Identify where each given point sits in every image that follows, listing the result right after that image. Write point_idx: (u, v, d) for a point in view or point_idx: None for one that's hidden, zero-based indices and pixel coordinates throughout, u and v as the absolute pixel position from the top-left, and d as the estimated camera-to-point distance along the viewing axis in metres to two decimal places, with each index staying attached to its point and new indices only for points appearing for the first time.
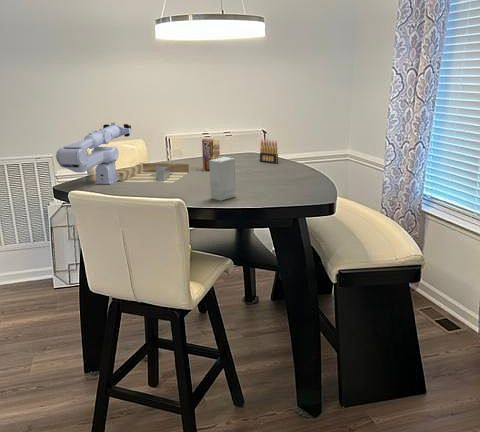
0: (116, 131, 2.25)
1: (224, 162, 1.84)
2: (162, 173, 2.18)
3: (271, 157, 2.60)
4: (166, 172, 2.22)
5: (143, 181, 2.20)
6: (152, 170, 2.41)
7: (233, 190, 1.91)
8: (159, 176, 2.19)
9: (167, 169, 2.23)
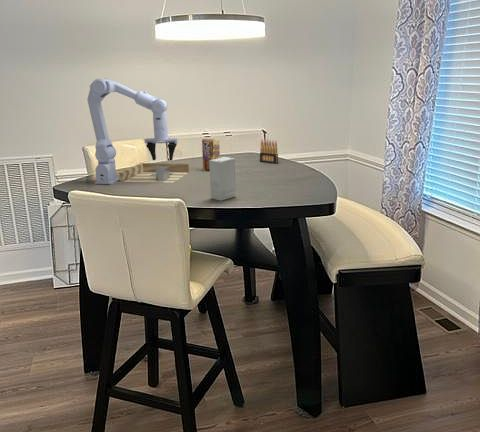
0: None
1: (224, 162, 1.84)
2: (162, 173, 2.18)
3: (271, 157, 2.60)
4: (166, 172, 2.22)
5: (143, 181, 2.20)
6: (152, 170, 2.41)
7: (233, 190, 1.91)
8: (159, 176, 2.19)
9: (167, 169, 2.23)
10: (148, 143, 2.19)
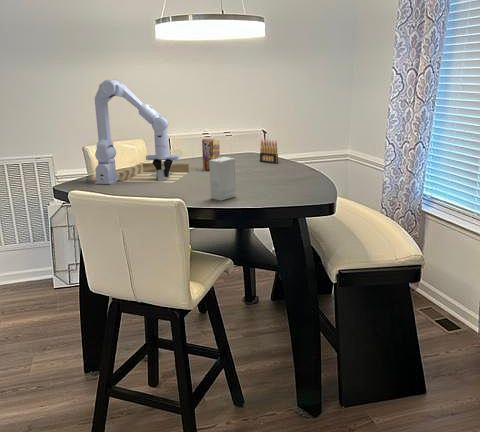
0: None
1: (224, 162, 1.84)
2: (162, 173, 2.18)
3: (271, 157, 2.60)
4: None
5: (143, 181, 2.20)
6: (152, 170, 2.41)
7: (233, 190, 1.91)
8: (159, 176, 2.19)
9: None
10: None
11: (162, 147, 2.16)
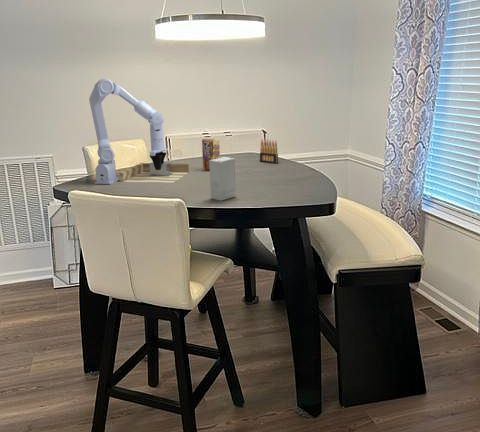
0: (156, 142, 2.26)
1: (224, 162, 1.84)
2: None
3: (271, 157, 2.60)
4: None
5: (143, 181, 2.20)
6: None
7: (233, 190, 1.91)
8: None
9: (161, 165, 2.30)
10: None
11: None
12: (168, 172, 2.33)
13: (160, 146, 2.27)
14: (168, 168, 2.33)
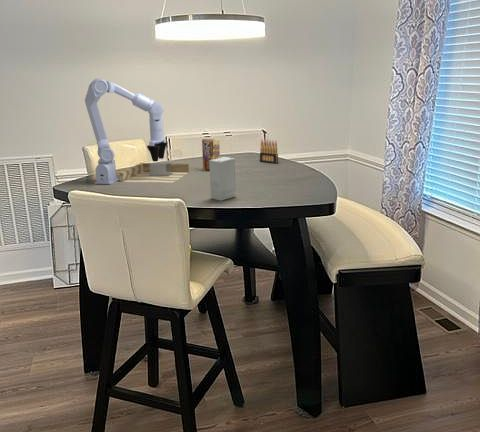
0: (155, 132, 2.25)
1: (224, 162, 1.84)
2: None
3: (271, 157, 2.60)
4: (157, 168, 2.31)
5: (143, 181, 2.20)
6: None
7: (233, 190, 1.91)
8: None
9: (160, 166, 2.30)
10: None
11: (150, 130, 2.26)
12: (168, 172, 2.33)
13: (159, 136, 2.26)
14: (168, 168, 2.33)
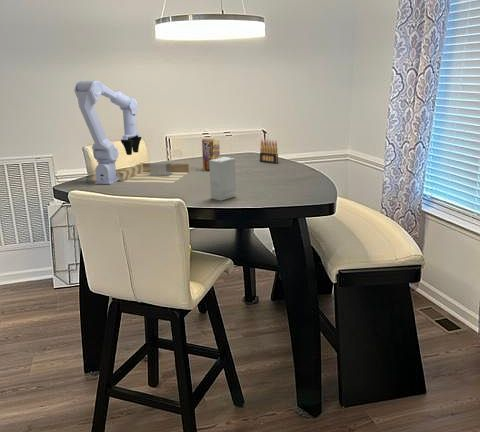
0: (129, 127, 2.32)
1: (224, 162, 1.84)
2: None
3: (271, 157, 2.60)
4: (157, 168, 2.31)
5: (143, 181, 2.20)
6: None
7: (233, 190, 1.91)
8: None
9: (160, 166, 2.30)
10: None
11: None
12: (168, 172, 2.33)
13: (133, 131, 2.33)
14: (168, 168, 2.33)
